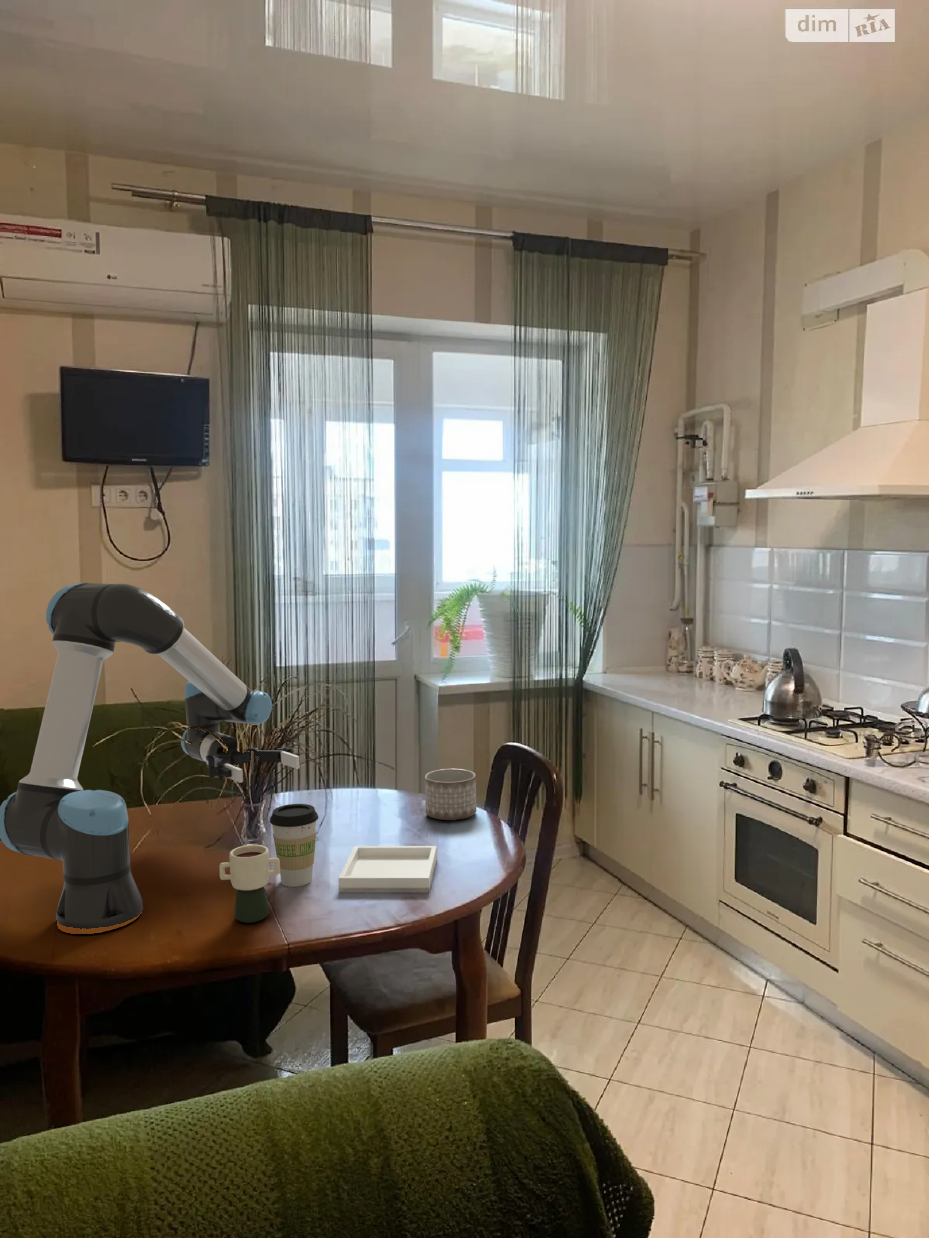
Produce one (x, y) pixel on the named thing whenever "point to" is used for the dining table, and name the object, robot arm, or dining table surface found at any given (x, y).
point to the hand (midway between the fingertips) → (270, 769)
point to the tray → (389, 869)
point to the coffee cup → (295, 842)
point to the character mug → (250, 880)
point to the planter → (450, 794)
